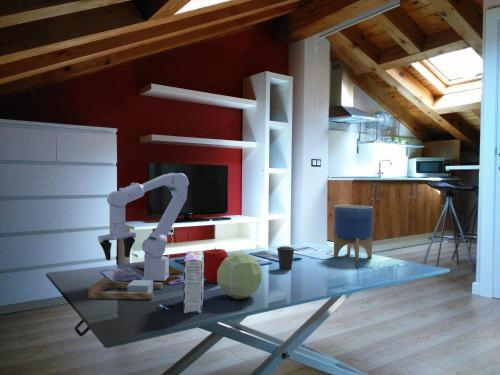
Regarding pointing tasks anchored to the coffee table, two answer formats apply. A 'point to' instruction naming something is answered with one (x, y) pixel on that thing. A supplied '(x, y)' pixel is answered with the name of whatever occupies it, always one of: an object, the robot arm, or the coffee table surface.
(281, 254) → the coffee cup
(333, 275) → the coffee table surface
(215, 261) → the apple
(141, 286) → the keeper
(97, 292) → the track
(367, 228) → the planter
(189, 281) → the candy box
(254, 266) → the decorative sphere
